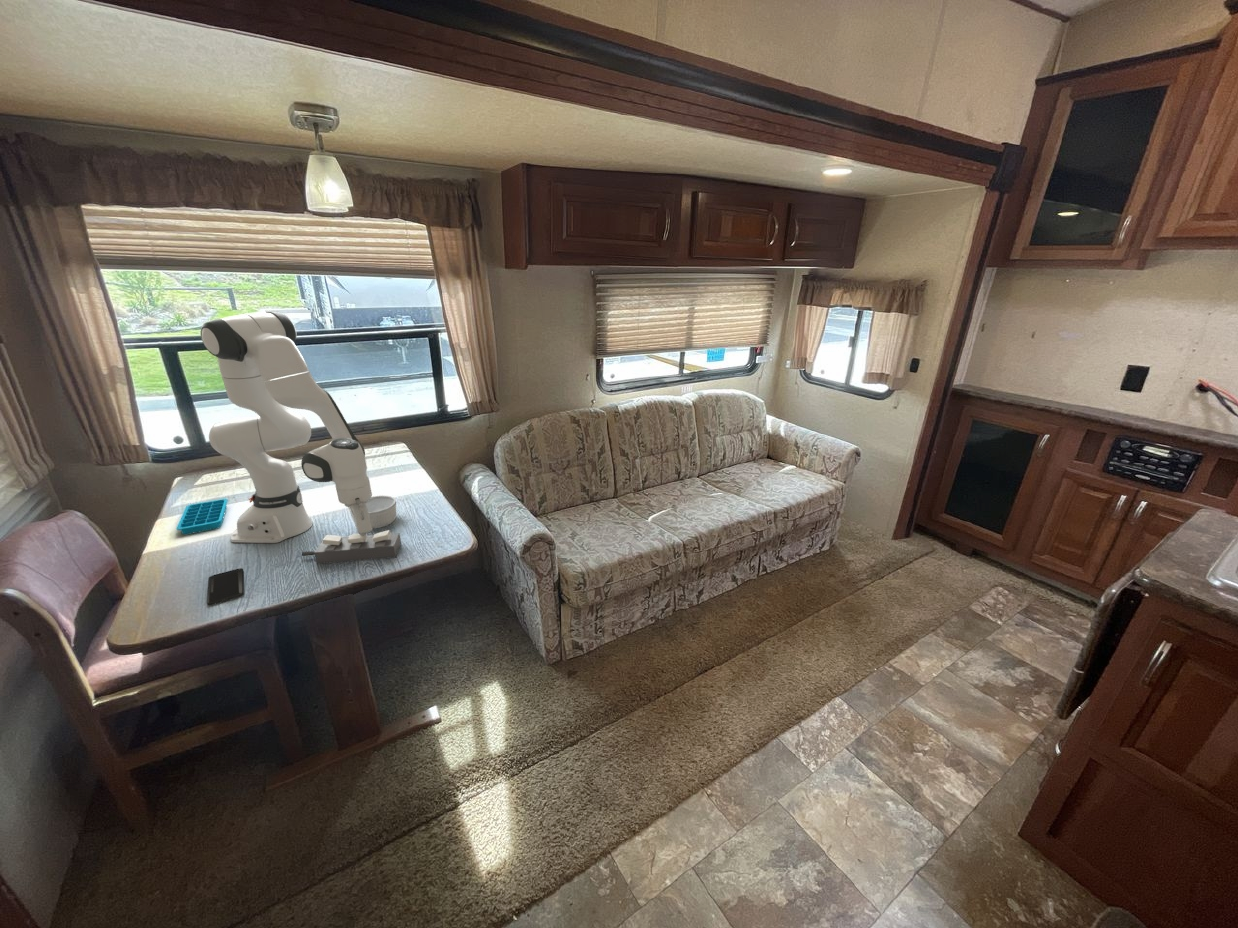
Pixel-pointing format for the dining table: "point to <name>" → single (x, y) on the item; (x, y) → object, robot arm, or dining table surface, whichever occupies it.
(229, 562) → the dining table surface
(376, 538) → the block
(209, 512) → the ice cube tray
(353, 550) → the power strip
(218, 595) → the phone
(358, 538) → the rocker
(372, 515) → the ramekin
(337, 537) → the rocker
